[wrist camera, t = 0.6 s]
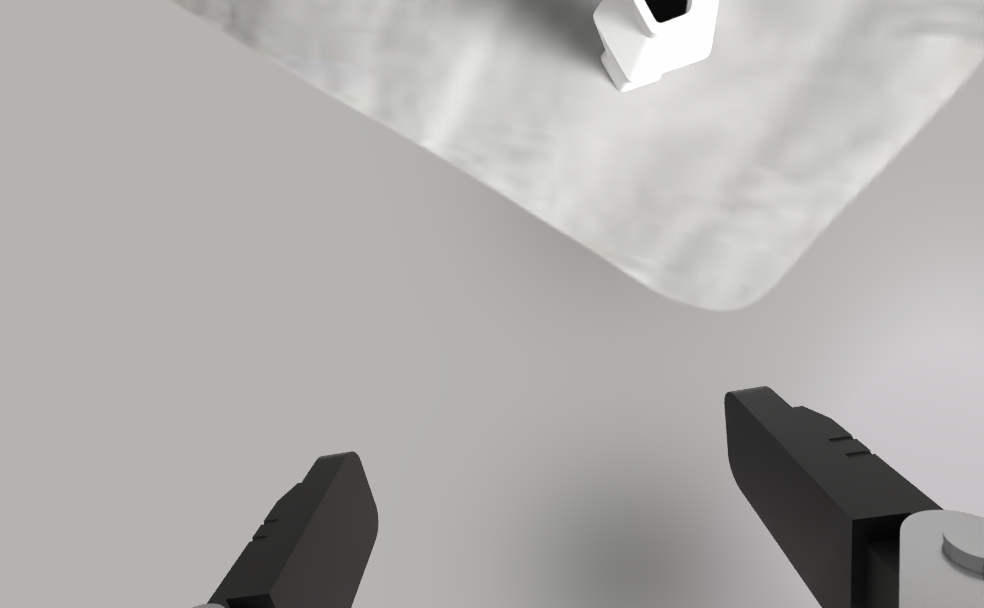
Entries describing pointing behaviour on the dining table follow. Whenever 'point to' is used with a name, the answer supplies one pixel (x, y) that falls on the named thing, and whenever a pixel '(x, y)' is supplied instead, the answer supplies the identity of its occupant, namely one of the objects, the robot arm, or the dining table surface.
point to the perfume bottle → (653, 37)
